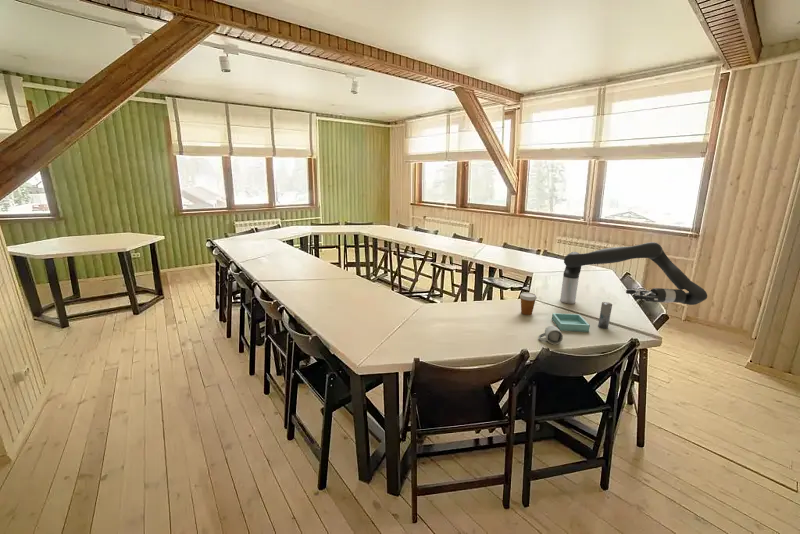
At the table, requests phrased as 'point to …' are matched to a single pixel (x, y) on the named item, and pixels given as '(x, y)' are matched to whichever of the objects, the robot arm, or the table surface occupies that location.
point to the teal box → (570, 322)
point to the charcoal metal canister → (605, 315)
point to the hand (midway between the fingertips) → (630, 294)
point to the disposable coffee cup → (527, 303)
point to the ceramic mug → (552, 335)
